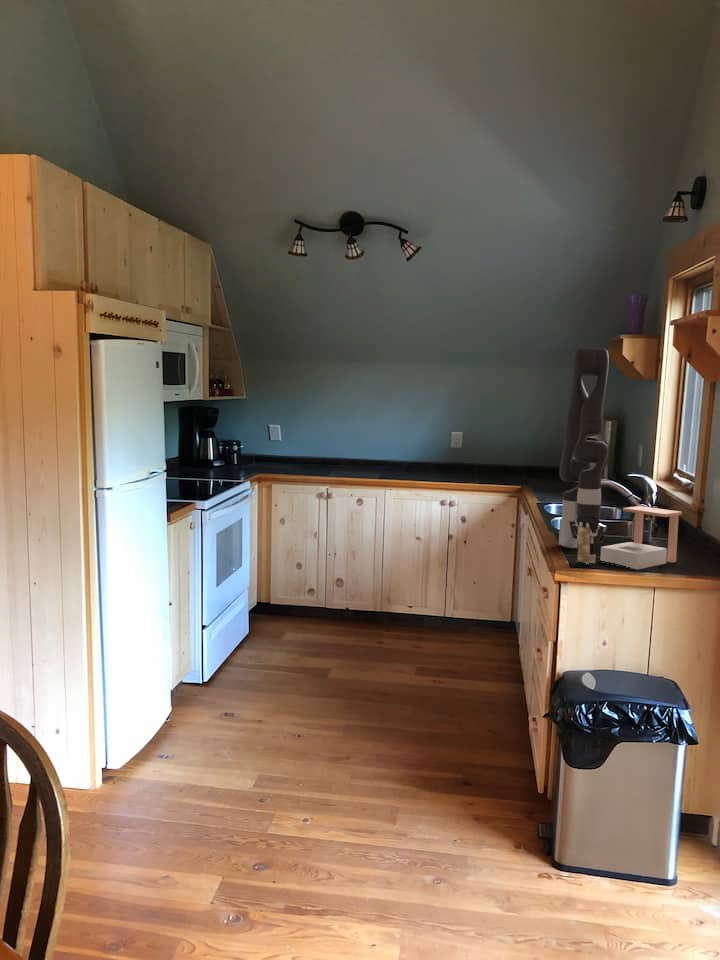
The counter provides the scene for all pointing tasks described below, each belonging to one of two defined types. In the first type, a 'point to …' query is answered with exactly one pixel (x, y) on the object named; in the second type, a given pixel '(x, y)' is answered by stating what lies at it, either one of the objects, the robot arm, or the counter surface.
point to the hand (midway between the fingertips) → (586, 553)
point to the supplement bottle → (644, 528)
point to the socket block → (634, 555)
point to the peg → (585, 546)
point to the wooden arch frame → (672, 514)
